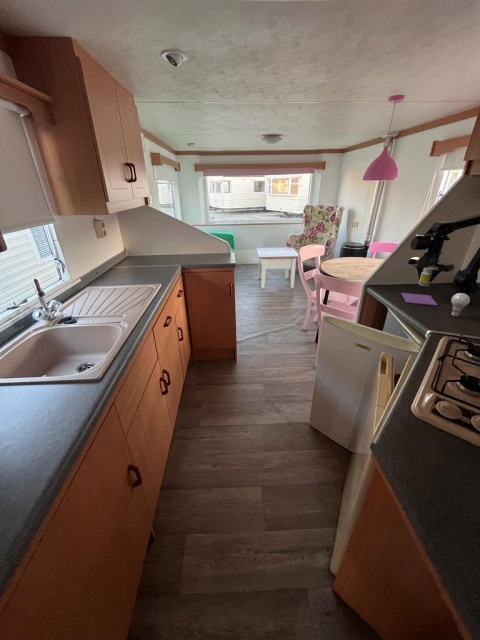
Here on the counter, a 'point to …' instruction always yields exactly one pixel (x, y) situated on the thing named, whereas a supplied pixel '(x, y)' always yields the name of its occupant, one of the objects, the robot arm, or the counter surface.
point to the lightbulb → (459, 303)
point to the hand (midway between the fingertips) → (424, 281)
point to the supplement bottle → (425, 277)
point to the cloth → (419, 299)
